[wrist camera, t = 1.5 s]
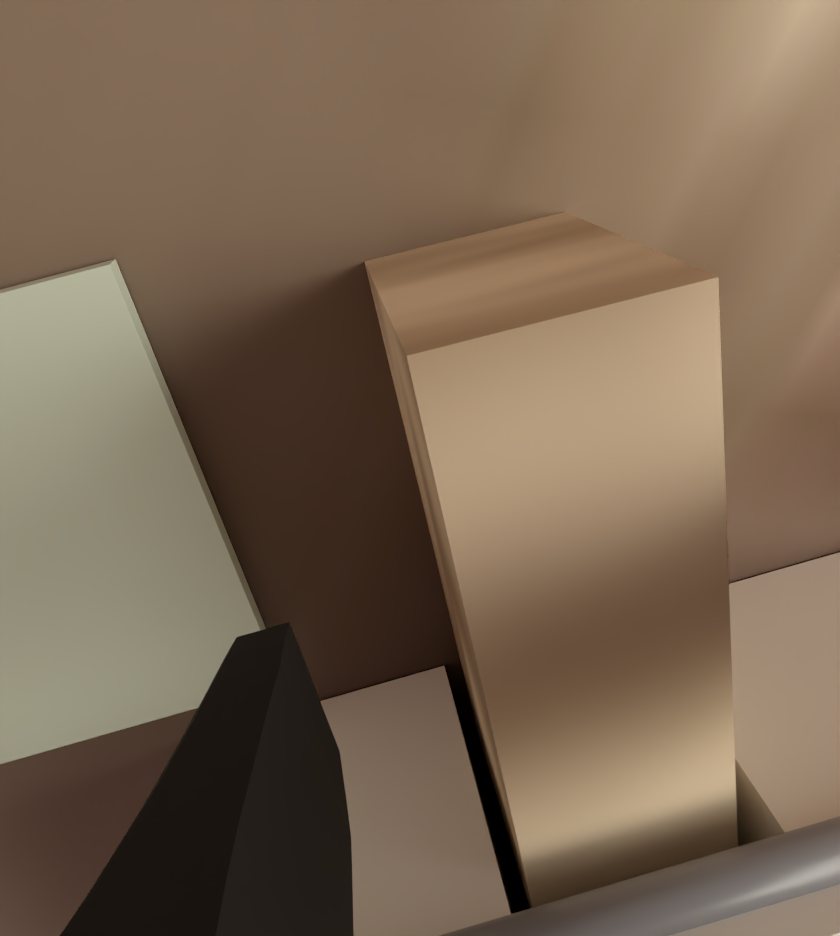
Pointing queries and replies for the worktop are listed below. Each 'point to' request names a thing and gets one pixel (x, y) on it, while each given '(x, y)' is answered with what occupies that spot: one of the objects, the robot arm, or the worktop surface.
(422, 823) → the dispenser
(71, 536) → the mat
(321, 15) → the worktop surface
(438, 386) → the wooden block
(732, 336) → the worktop surface
